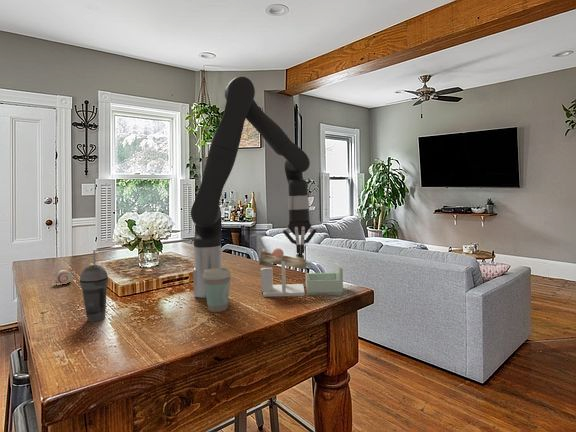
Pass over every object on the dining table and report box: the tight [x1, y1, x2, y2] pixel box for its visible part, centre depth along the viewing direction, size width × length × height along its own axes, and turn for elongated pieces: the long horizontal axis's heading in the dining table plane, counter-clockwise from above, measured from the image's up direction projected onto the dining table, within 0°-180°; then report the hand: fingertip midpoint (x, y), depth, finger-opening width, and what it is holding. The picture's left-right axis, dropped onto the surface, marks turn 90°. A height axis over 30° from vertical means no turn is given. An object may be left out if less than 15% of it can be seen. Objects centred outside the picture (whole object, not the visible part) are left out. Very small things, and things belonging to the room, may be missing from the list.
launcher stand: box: [259, 261, 306, 298], centre depth 128 cm, size 15×12×12 cm
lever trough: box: [259, 247, 307, 270], centre depth 131 cm, size 16×13×5 cm
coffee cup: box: [202, 267, 232, 313], centre depth 110 cm, size 8×9×12 cm
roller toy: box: [53, 269, 73, 284], centre depth 148 cm, size 4×6×6 cm
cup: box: [305, 261, 344, 297], centre depth 129 cm, size 12×12×9 cm
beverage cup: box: [79, 249, 109, 323], centre depth 104 cm, size 7×7×20 cm
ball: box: [271, 247, 285, 258], centre depth 128 cm, size 4×4×4 cm
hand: (300, 254), depth 135 cm, fingers closed
